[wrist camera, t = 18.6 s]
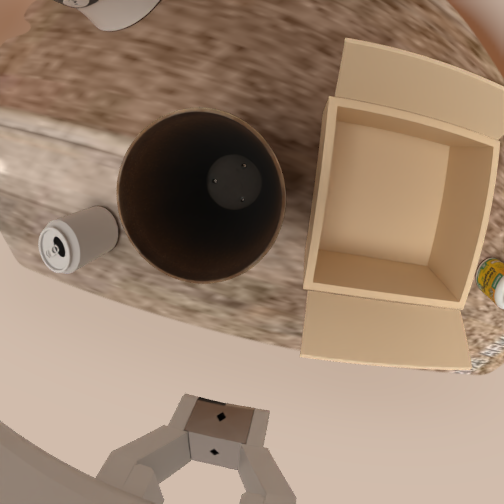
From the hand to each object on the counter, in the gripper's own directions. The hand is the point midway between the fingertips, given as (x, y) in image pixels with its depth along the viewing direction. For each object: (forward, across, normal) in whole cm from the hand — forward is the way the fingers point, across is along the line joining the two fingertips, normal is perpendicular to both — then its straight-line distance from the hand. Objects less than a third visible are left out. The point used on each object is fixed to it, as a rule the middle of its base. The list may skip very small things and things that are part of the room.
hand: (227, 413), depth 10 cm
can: (+33, +28, +6) cm, 43 cm away
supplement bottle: (+32, -32, +4) cm, 46 cm away
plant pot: (+33, +7, -3) cm, 34 cm away
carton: (+32, -12, -4) cm, 35 cm away
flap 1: (+17, -12, -15) cm, 26 cm away
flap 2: (+17, -12, +6) cm, 21 cm away
